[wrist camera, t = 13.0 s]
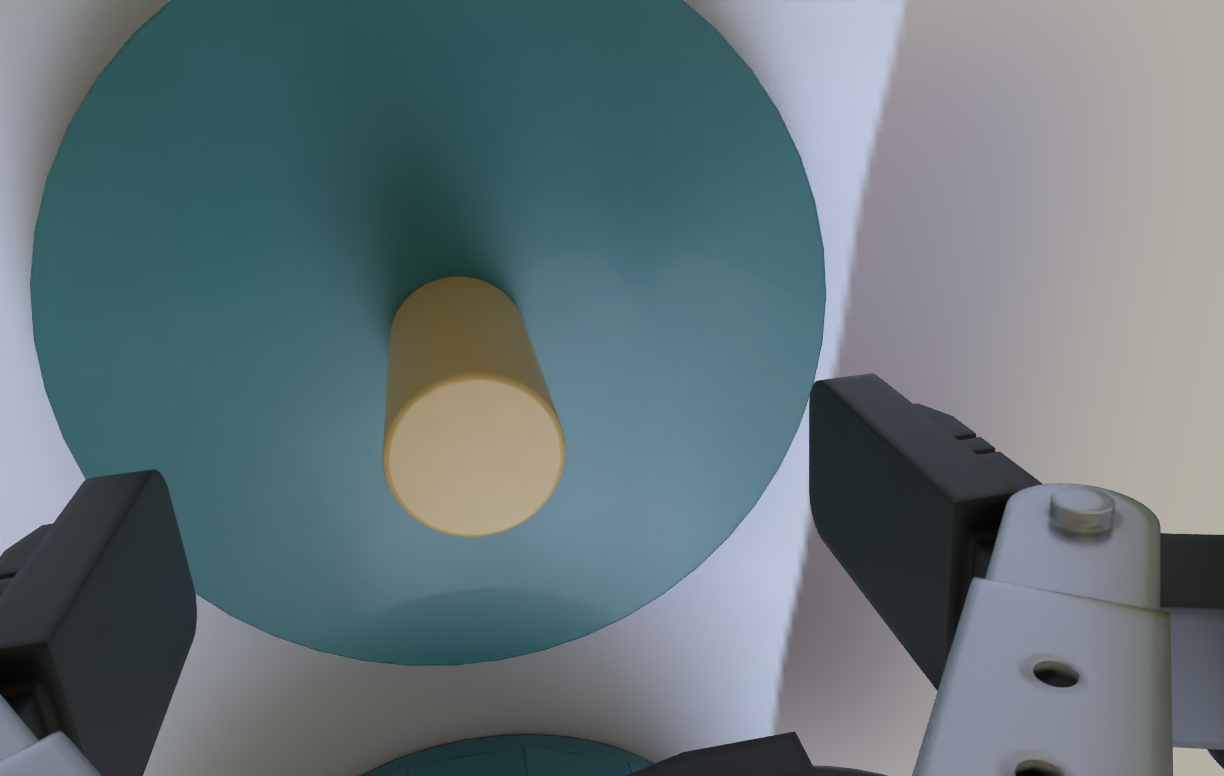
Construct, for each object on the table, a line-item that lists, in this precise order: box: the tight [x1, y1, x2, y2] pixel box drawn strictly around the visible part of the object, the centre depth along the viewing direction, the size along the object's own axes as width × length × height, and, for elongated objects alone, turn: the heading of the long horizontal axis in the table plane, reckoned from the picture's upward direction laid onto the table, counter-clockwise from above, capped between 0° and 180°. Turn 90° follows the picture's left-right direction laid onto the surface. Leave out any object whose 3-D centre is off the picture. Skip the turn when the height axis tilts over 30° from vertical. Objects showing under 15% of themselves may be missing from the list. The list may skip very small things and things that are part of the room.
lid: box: [30, 0, 826, 666], centre depth 16 cm, size 14×14×6 cm
